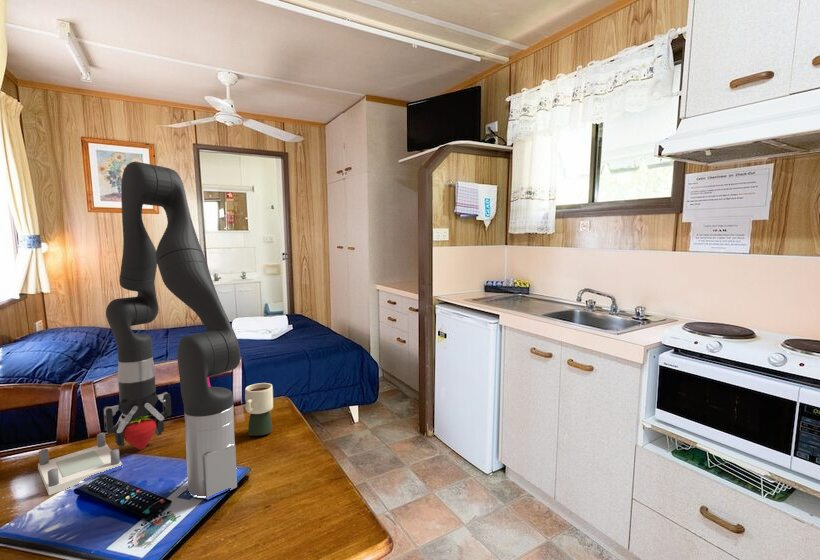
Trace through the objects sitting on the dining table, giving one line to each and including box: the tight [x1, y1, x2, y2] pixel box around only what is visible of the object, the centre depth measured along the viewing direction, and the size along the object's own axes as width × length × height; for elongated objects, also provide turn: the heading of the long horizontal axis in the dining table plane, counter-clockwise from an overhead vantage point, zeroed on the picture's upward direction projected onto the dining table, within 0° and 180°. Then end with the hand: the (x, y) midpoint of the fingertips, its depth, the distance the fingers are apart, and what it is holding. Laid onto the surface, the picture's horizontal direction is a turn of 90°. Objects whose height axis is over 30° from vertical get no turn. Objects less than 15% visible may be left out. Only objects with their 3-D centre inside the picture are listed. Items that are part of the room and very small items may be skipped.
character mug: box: [244, 382, 274, 437], centre depth 108 cm, size 11×7×13 cm, turn 169°
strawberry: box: [123, 414, 157, 451], centre depth 99 cm, size 6×8×10 cm
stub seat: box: [37, 432, 123, 496], centre depth 90 cm, size 15×13×4 cm
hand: (140, 439), depth 100 cm, fingers closed on strawberry, 7 cm apart
